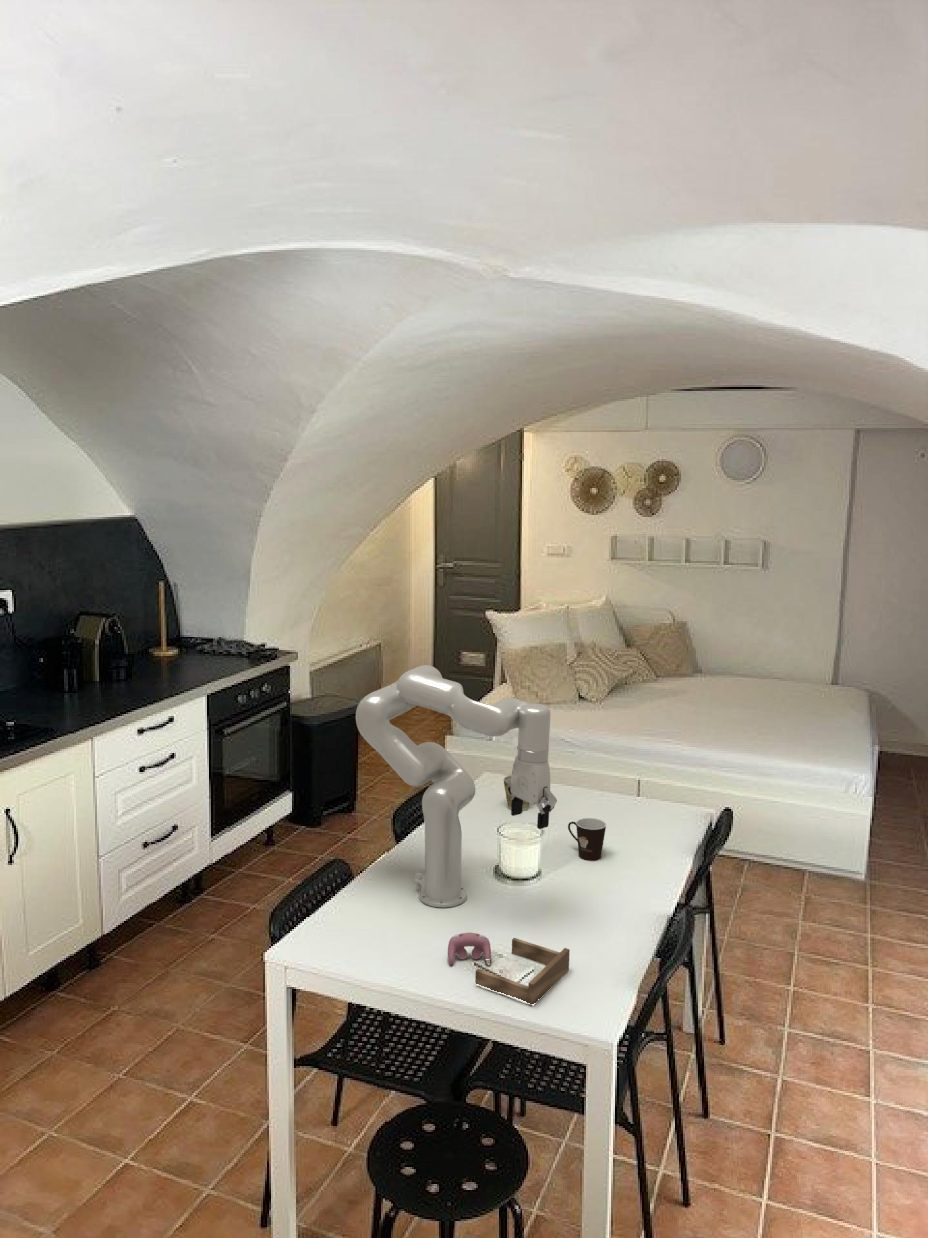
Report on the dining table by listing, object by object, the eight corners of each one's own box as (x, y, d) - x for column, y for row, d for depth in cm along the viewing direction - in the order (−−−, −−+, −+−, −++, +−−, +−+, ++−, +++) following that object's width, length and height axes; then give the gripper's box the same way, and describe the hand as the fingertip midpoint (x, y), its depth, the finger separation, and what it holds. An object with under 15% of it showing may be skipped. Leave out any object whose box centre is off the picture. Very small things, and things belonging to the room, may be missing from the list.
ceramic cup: (513, 815, 296) (513, 786, 295) (497, 805, 305) (498, 777, 303) (546, 809, 302) (547, 780, 301) (530, 799, 311) (530, 771, 309)
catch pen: (475, 985, 199) (475, 964, 198) (513, 951, 213) (514, 931, 212) (532, 1006, 191) (533, 984, 190) (568, 970, 205) (569, 949, 205)
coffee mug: (610, 860, 264) (611, 827, 262) (584, 864, 260) (585, 831, 259) (590, 844, 274) (591, 813, 273) (564, 848, 271) (565, 816, 269)
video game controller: (490, 964, 210) (490, 932, 212) (491, 965, 206) (491, 933, 208) (447, 965, 210) (447, 932, 212) (447, 966, 206) (447, 933, 208)
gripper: (498, 747, 227) (495, 812, 230) (545, 767, 214) (541, 836, 217) (521, 742, 232) (517, 806, 235) (568, 761, 218) (564, 829, 221)
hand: (529, 821), depth 226 cm, fingers open, 9 cm apart
